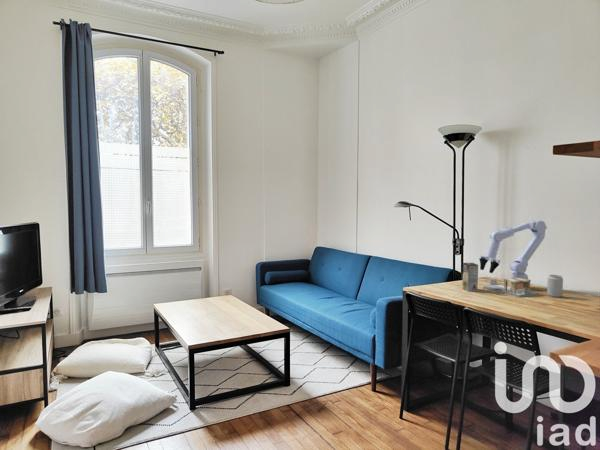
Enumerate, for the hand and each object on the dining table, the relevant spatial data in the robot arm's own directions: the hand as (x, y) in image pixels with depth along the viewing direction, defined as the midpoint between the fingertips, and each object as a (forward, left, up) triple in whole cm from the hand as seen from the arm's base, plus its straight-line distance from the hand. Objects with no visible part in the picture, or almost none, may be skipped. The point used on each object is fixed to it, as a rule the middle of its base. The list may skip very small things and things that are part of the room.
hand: (486, 271), depth 268 cm
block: (-2, +22, -8) cm, 23 cm away
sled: (-2, +14, -8) cm, 17 cm away
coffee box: (+16, +4, -10) cm, 20 cm away
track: (-2, +17, -10) cm, 19 cm away
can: (-16, +35, -10) cm, 40 cm away
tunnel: (-2, +22, -9) cm, 24 cm away
